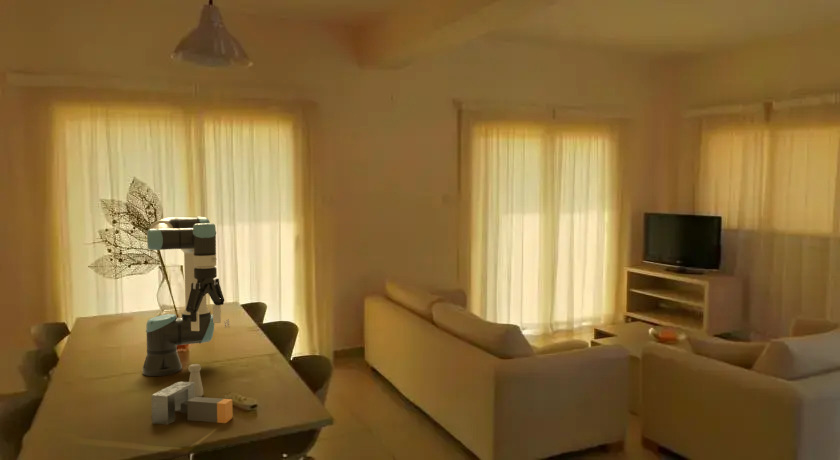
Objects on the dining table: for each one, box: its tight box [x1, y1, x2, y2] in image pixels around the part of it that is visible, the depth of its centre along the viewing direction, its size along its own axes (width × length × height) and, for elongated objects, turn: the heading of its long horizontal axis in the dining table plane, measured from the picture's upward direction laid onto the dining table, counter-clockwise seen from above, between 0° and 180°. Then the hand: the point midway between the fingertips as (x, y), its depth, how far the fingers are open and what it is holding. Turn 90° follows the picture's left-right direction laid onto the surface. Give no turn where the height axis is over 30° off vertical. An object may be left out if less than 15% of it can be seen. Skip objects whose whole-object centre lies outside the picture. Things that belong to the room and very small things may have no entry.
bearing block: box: [150, 381, 195, 426], centre depth 205 cm, size 6×15×10 cm, turn 167°
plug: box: [180, 396, 233, 424], centre depth 202 cm, size 17×4×6 cm, turn 78°
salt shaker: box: [188, 363, 204, 397], centre depth 222 cm, size 6×6×13 cm
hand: (206, 326), depth 213 cm, fingers open, 13 cm apart
